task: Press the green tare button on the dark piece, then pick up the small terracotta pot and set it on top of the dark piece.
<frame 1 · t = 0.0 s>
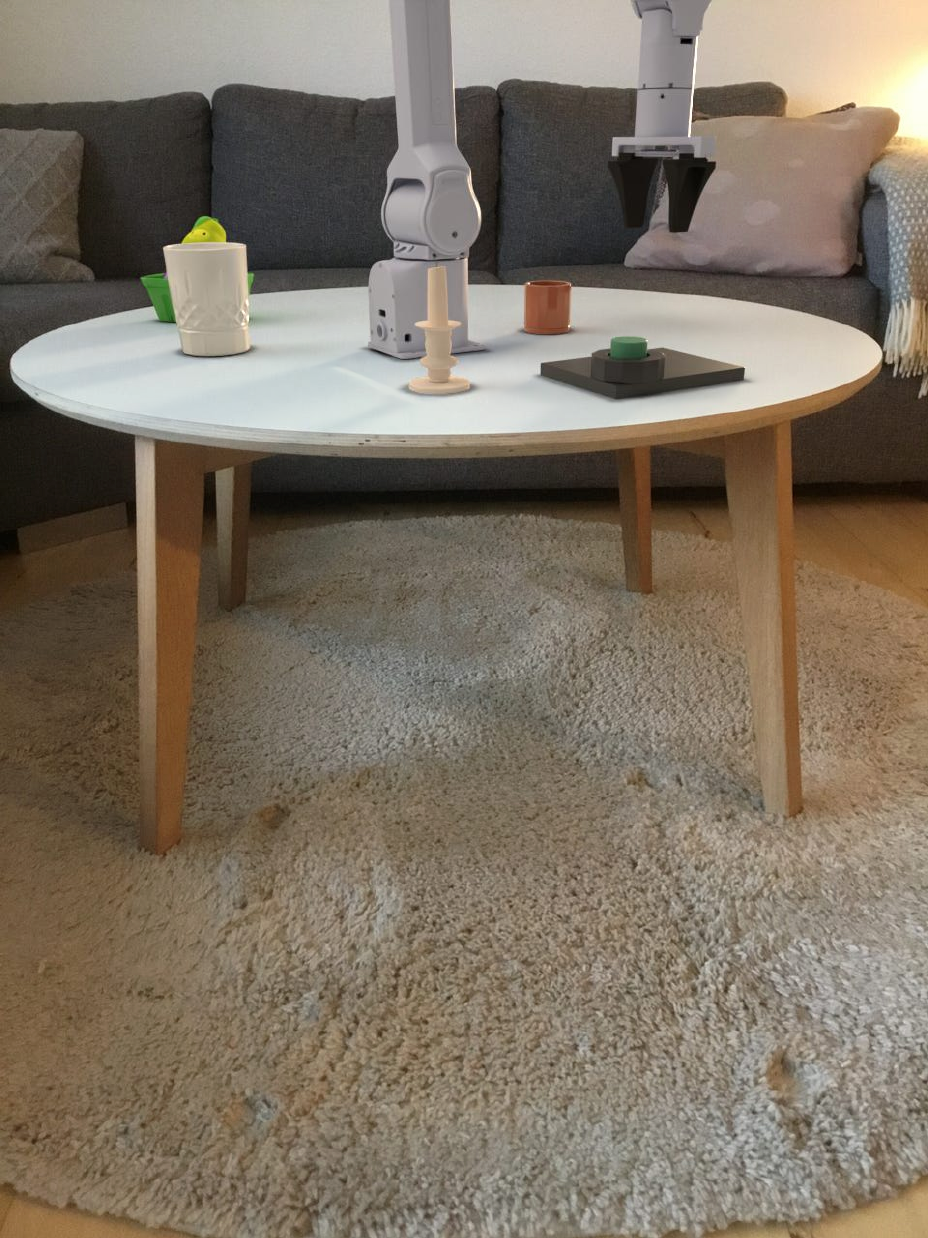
hand: (655, 229, 111), 10 cm above the table, tool pointing down, fingers open, 7 cm apart
terracotta pot: (546, 330, 112), on the table
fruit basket: (205, 321, 120), on the table
dark piece: (640, 378, 89), on the table
tare button: (628, 348, 83), point 3 cm above the table, slide at 0.2 cm
candle: (439, 390, 86), on the table
white cup: (216, 352, 102), on the table
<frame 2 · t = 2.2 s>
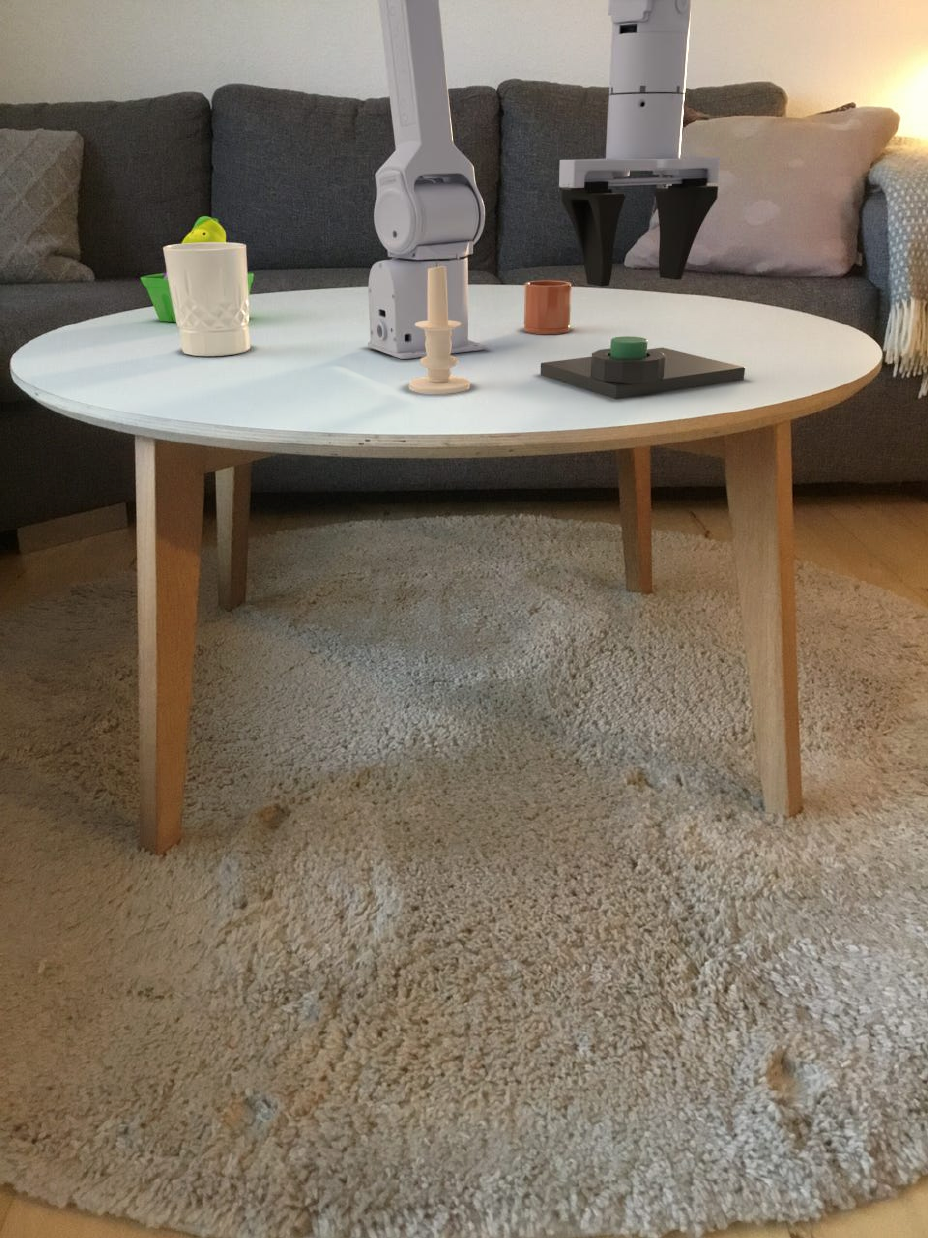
hand: (635, 281, 83), 9 cm above the table, tool pointing down, fingers open, 7 cm apart
nothing on the table moved.
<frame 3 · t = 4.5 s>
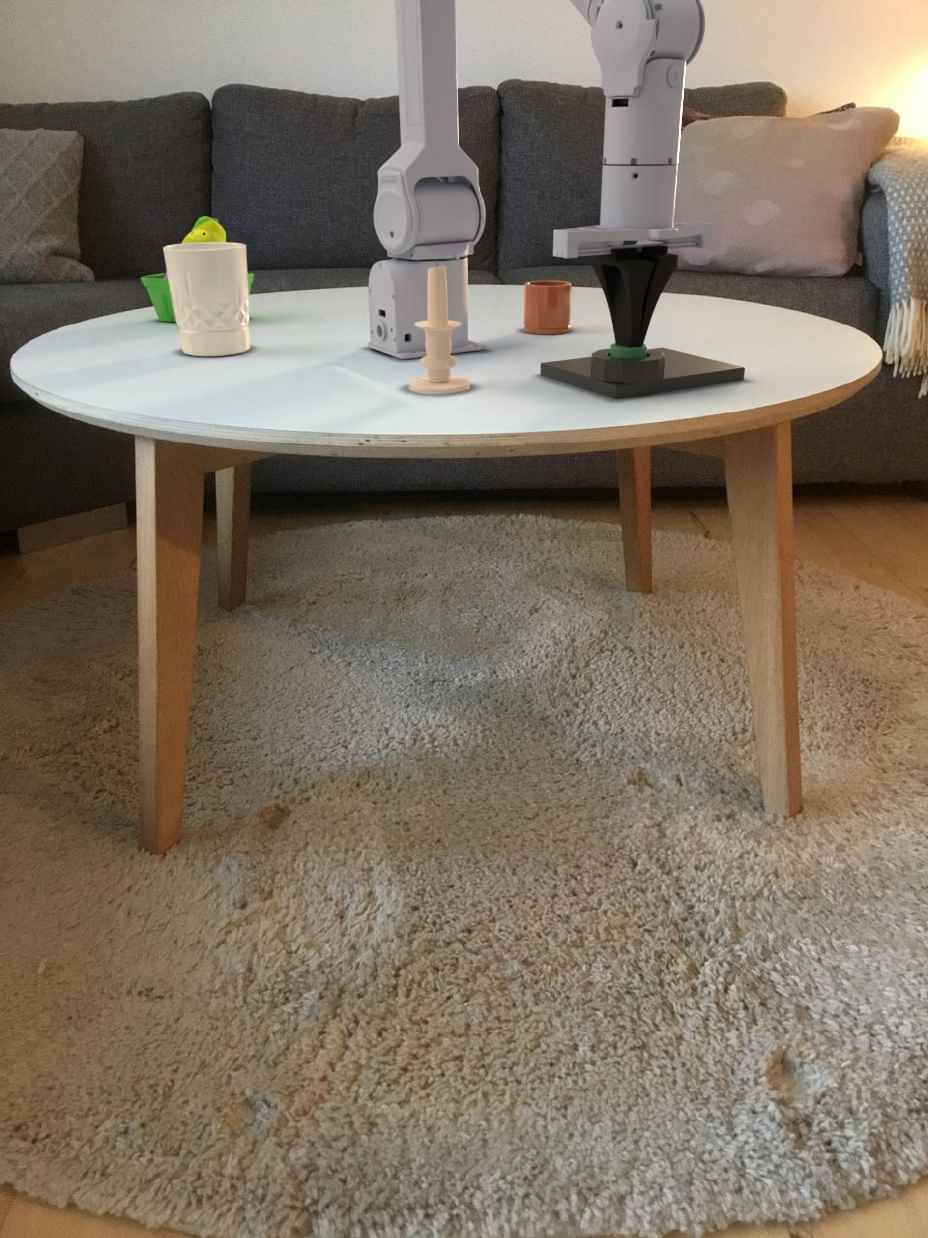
hand: (629, 345, 83), 4 cm above the table, tool pointing down, fingers closed, pressing on tare button
tare button: (628, 354, 84), point 3 cm above the table, slide at -0.3 cm, touching gripper
everything else where it was.
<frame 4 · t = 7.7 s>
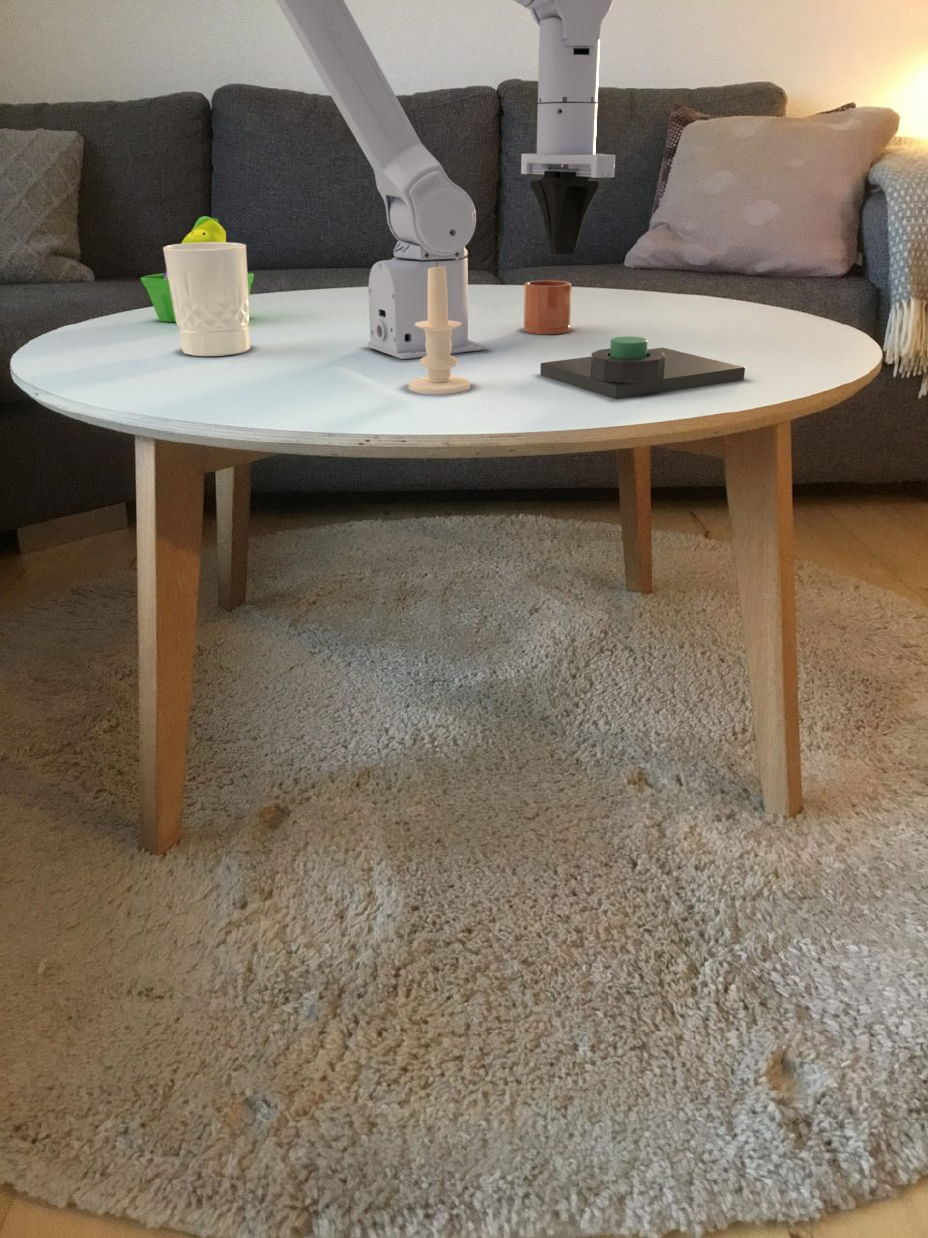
hand: (562, 253, 103), 9 cm above the table, tool pointing down, fingers closed
tare button: (628, 348, 83), point 3 cm above the table, slide at 0.2 cm
everything else where it was.
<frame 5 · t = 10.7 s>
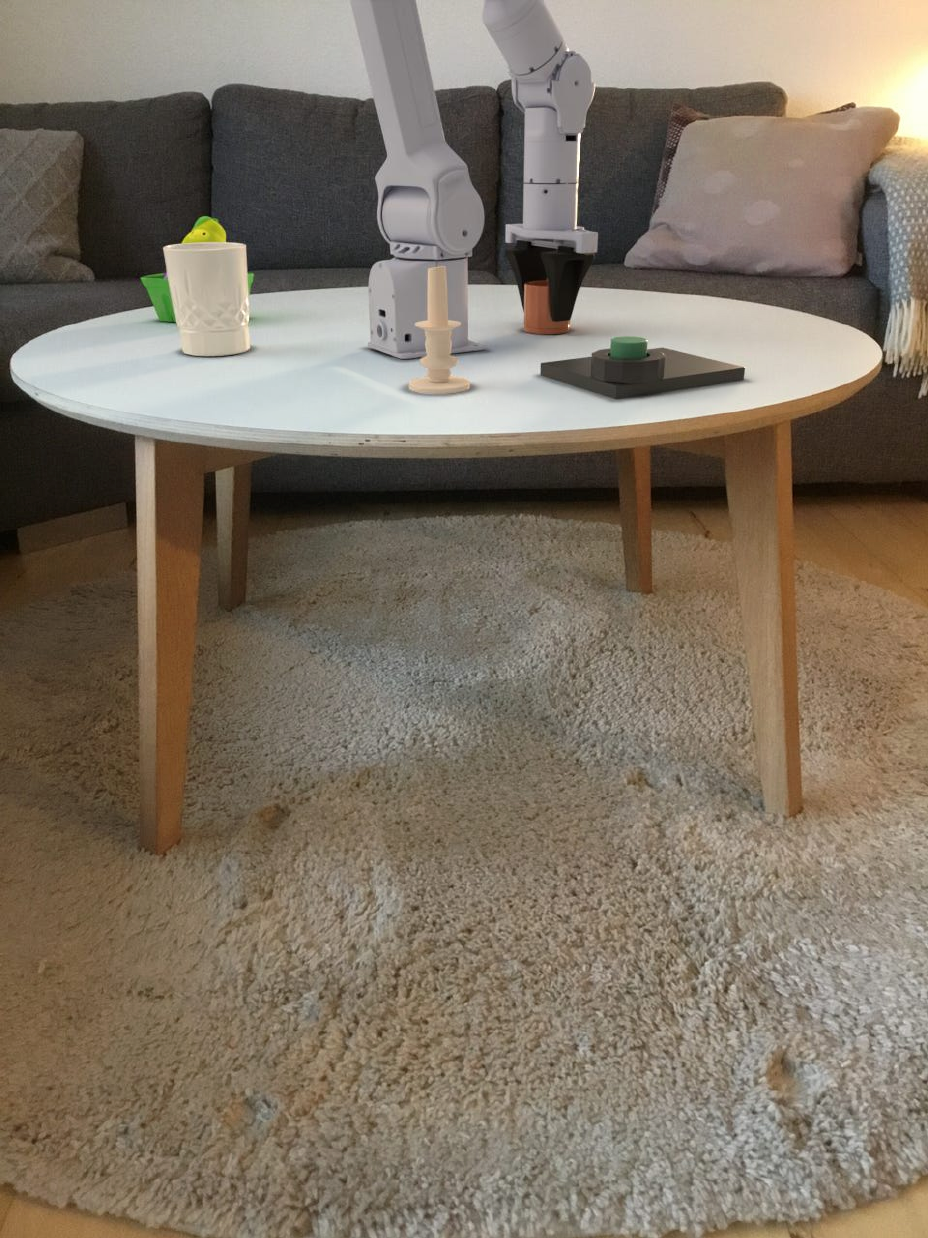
hand: (547, 317, 111), 1 cm above the table, tool pointing down, fingers closed on terracotta pot, 5 cm apart
terracotta pot: (546, 330, 112), on the table, touching gripper
everything else where it was.
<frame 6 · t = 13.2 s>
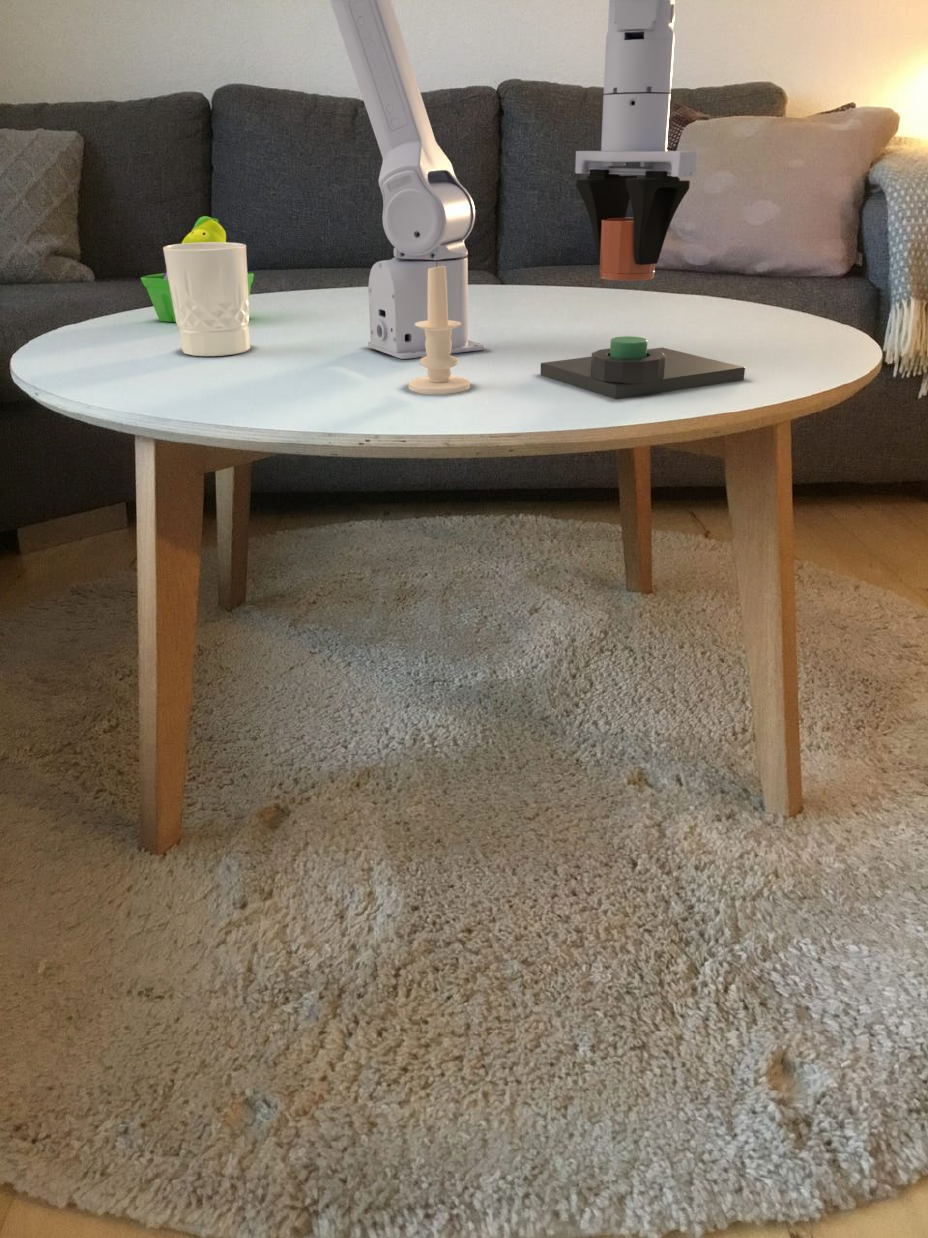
hand: (627, 261, 93), 9 cm above the table, tool pointing down, fingers closed on terracotta pot, 5 cm apart
terracotta pot: (626, 277, 93), point 8 cm above the table, touching gripper
everything else where it was.
when the fingers open (3 cm above the table, at t = 15.9 s): terracotta pot stays where it is, resting on dark piece.
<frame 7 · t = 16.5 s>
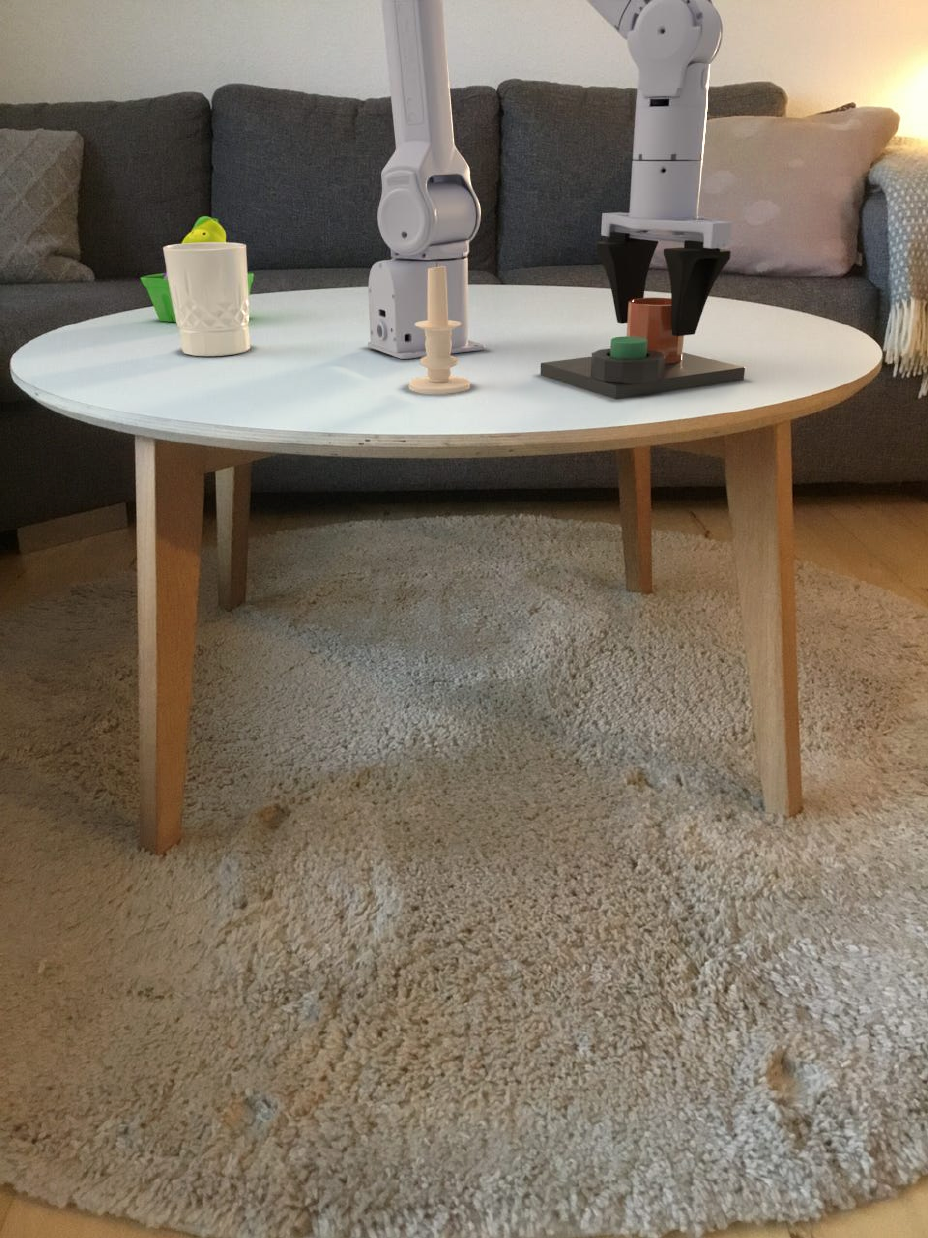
hand: (654, 328, 90), 4 cm above the table, tool pointing down, fingers open, 7 cm apart
terracotta pot: (653, 358, 91), point 1 cm above the table, touching dark piece
everything else where it was.
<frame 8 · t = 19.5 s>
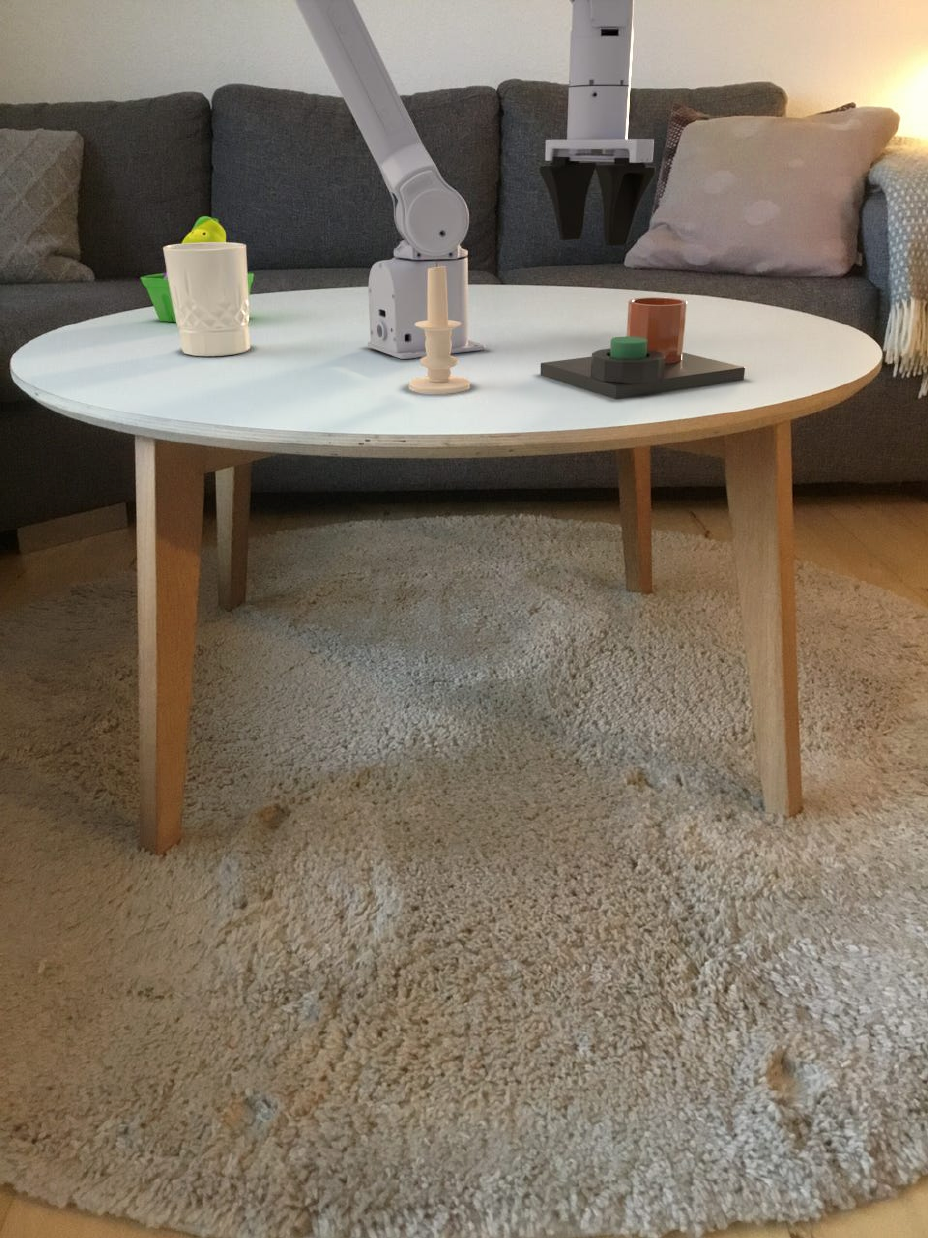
hand: (592, 242, 100), 10 cm above the table, tool pointing down, fingers open, 7 cm apart
nothing on the table moved.
at the end: tare button pushed in 1.2 cm at the most during the clip, back to 0.2 cm at the end; terracotta pot inside the target area on the dark piece (3.0 cm from its centre), point 1.2 cm above the dark piece's base; terracotta pot touching dark piece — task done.
